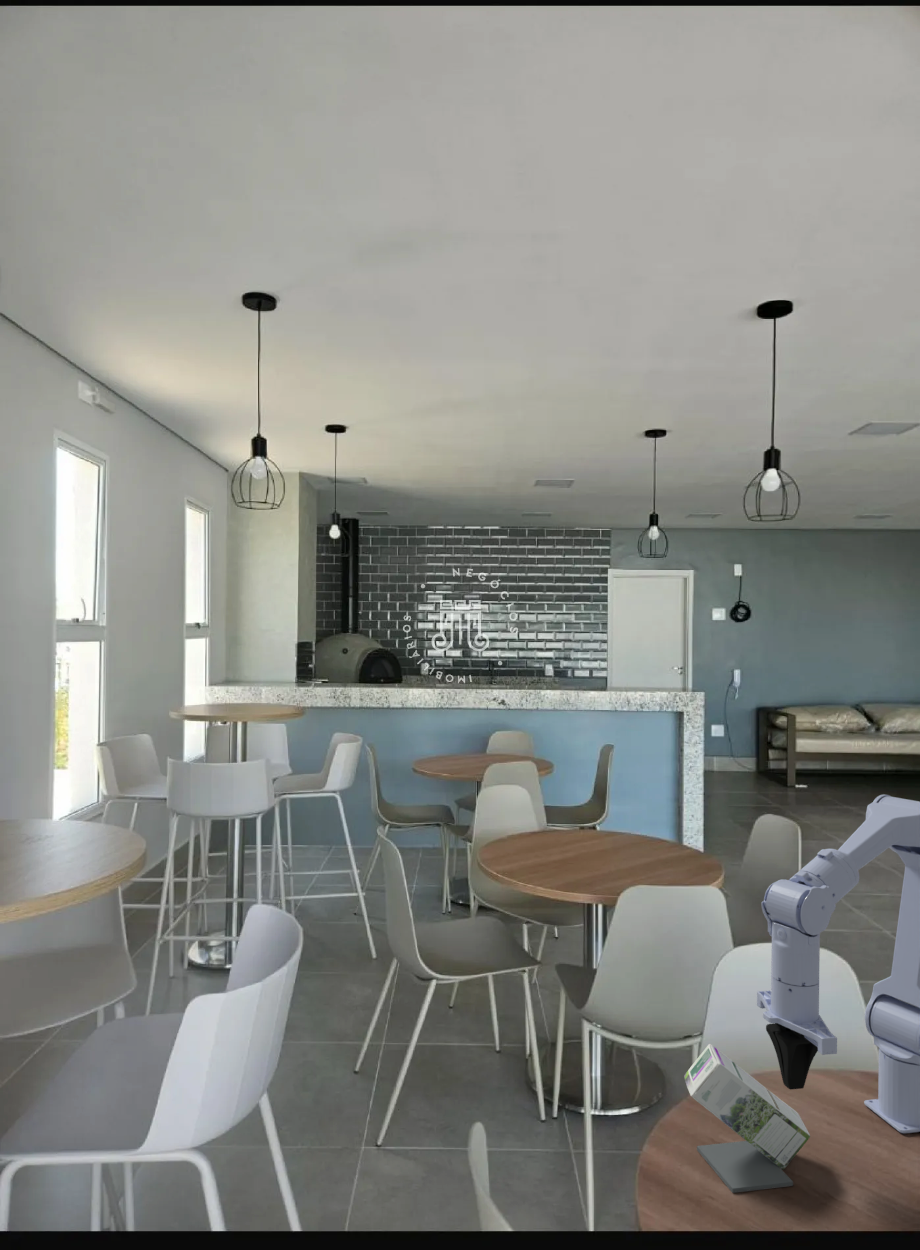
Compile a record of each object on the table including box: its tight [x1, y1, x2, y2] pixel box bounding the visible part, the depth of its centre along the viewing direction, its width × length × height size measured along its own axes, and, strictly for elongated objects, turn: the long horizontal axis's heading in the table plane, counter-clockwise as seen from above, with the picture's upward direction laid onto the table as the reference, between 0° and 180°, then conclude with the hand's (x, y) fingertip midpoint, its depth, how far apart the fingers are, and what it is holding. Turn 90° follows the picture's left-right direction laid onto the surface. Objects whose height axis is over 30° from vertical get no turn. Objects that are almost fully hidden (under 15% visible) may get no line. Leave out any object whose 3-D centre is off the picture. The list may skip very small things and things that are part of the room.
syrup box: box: [683, 1043, 811, 1171], centre depth 111 cm, size 6×6×14 cm
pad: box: [696, 1140, 794, 1194], centre depth 109 cm, size 8×9×1 cm
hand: (793, 1086), depth 111 cm, fingers closed
